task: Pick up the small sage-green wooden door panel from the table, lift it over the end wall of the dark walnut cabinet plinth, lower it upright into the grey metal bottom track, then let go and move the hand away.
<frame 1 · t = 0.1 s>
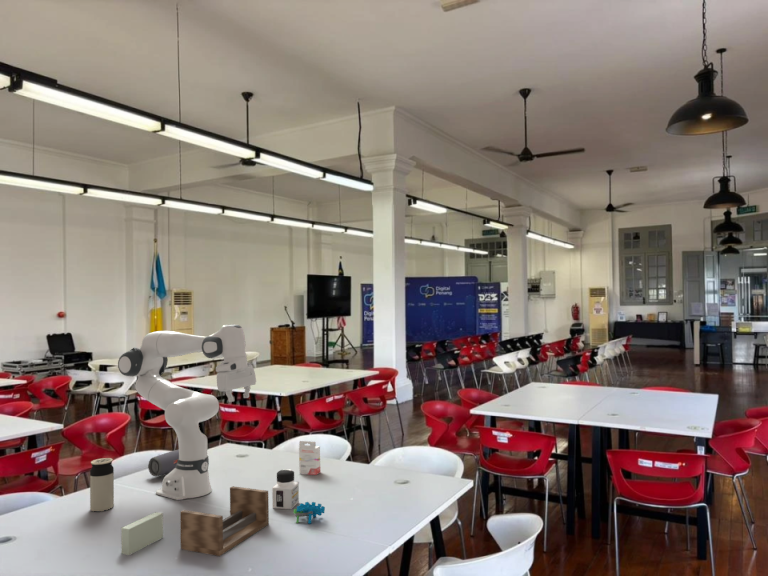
hand: (239, 399, 220), 39 cm above the table, fingers open, 8 cm apart
ink cartridge box: (310, 473, 251), on the table
gear: (309, 521, 195), on the table
travel mug: (102, 508, 211), on the table
door panel: (142, 545, 177), on the table
container: (285, 505, 211), on the table
cabinet base: (226, 536, 183), on the table
bluetooth speaker: (175, 472, 256), on the table
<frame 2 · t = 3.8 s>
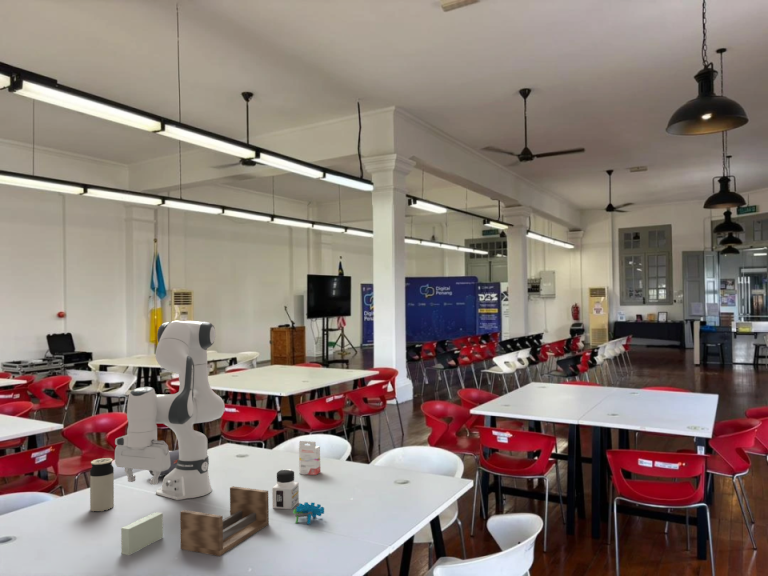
hand: (142, 482, 178), 20 cm above the table, fingers open, 8 cm apart
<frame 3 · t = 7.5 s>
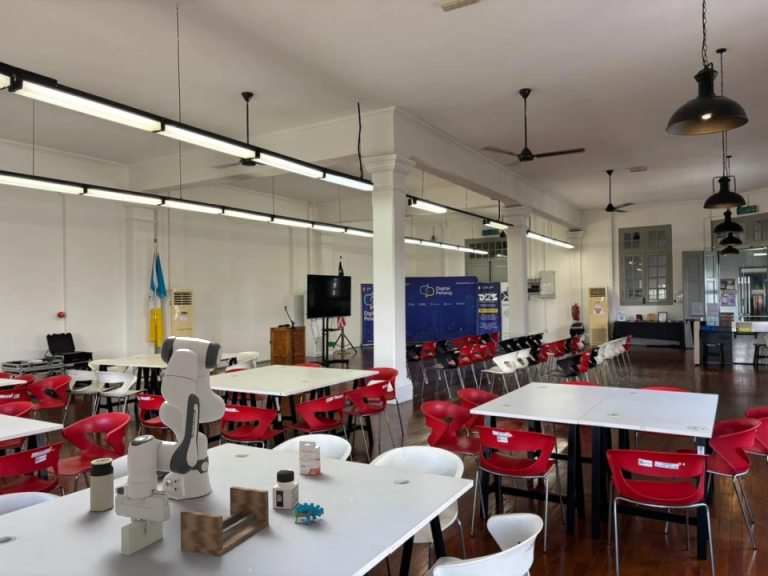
hand: (142, 532, 177), 4 cm above the table, fingers closed on door panel, 3 cm apart
door panel: (142, 545, 177), on the table, touching gripper
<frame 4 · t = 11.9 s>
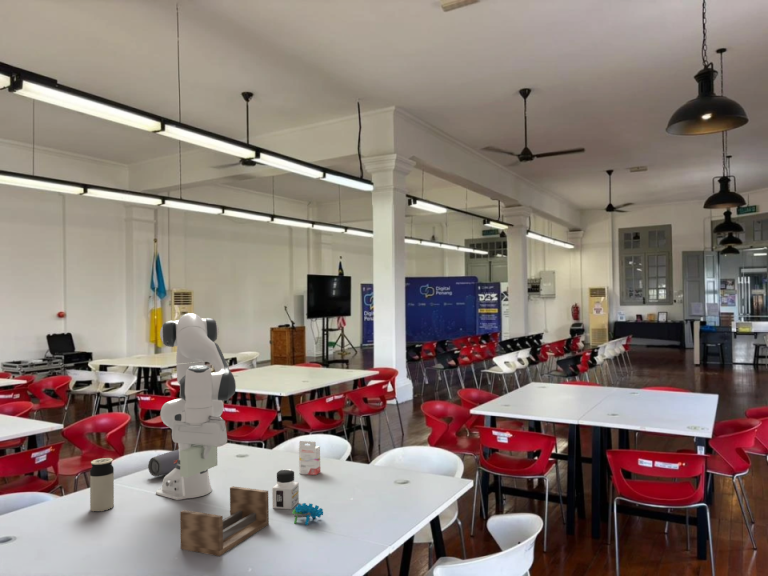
hand: (199, 457, 182), 26 cm above the table, fingers closed on door panel, 3 cm apart
door panel: (199, 470, 182), point 22 cm above the table, touching gripper
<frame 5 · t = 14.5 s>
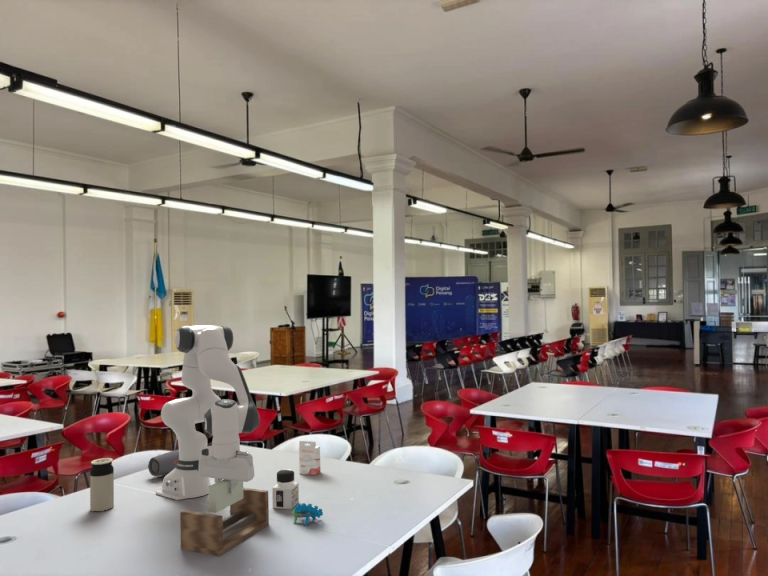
hand: (226, 492, 184), 14 cm above the table, fingers closed on door panel, 3 cm apart
door panel: (226, 504, 183), point 10 cm above the table, touching gripper
when the fingers open (7 cm above the table, at t = 16.6 s): door panel drops 1 cm, resting on cabinet base.
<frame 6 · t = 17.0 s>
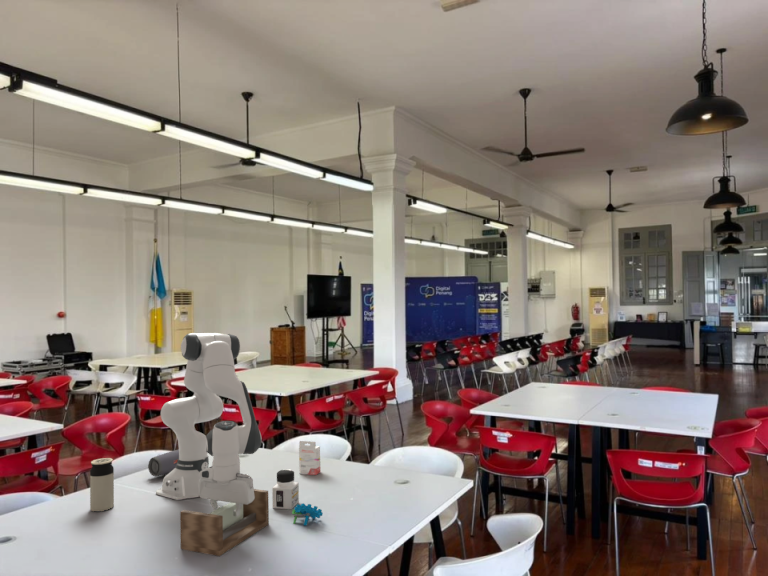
hand: (226, 514, 183), 7 cm above the table, fingers open, 7 cm apart
door panel: (226, 531, 183), point 2 cm above the table, touching cabinet base
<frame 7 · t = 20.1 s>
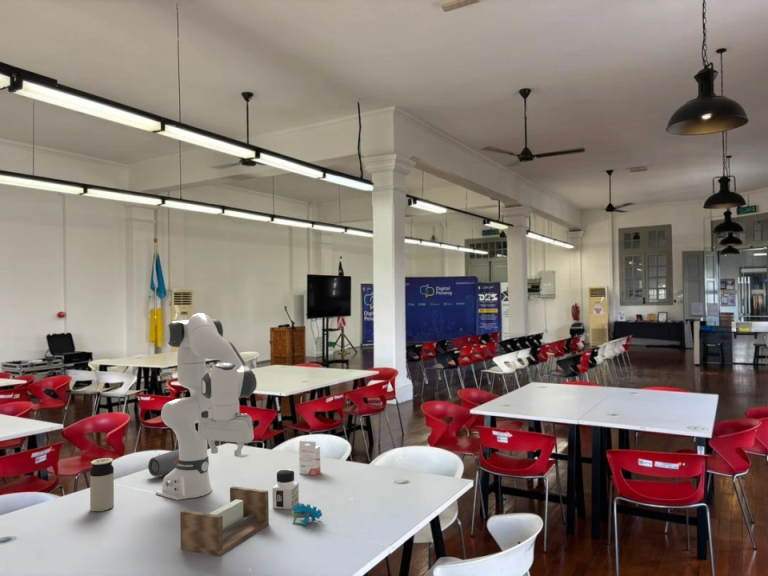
hand: (226, 454, 184), 27 cm above the table, fingers open, 8 cm apart
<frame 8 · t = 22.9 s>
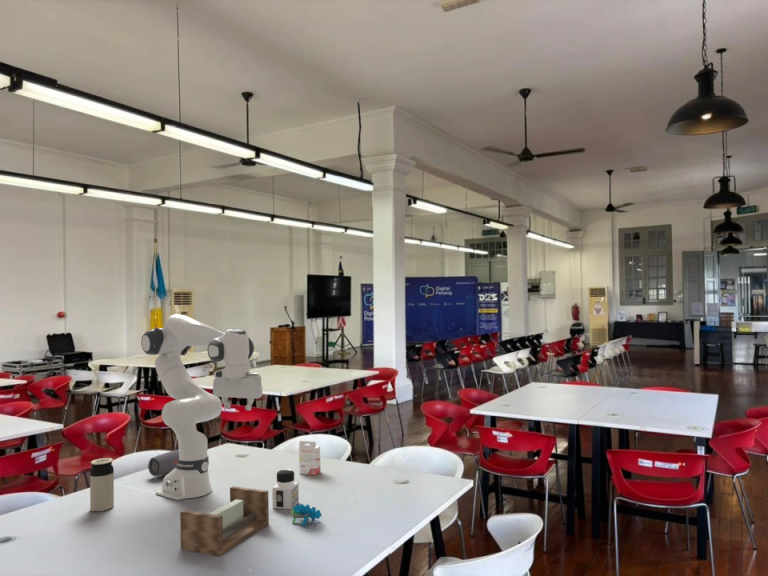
hand: (237, 409, 208), 37 cm above the table, fingers open, 8 cm apart
at the end: door panel inside the target area on the cabinet base (0.1 cm from its centre), point 1.5 cm above the cabinet base's base; door panel tilted 0°; the gripper is holding nothing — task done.
